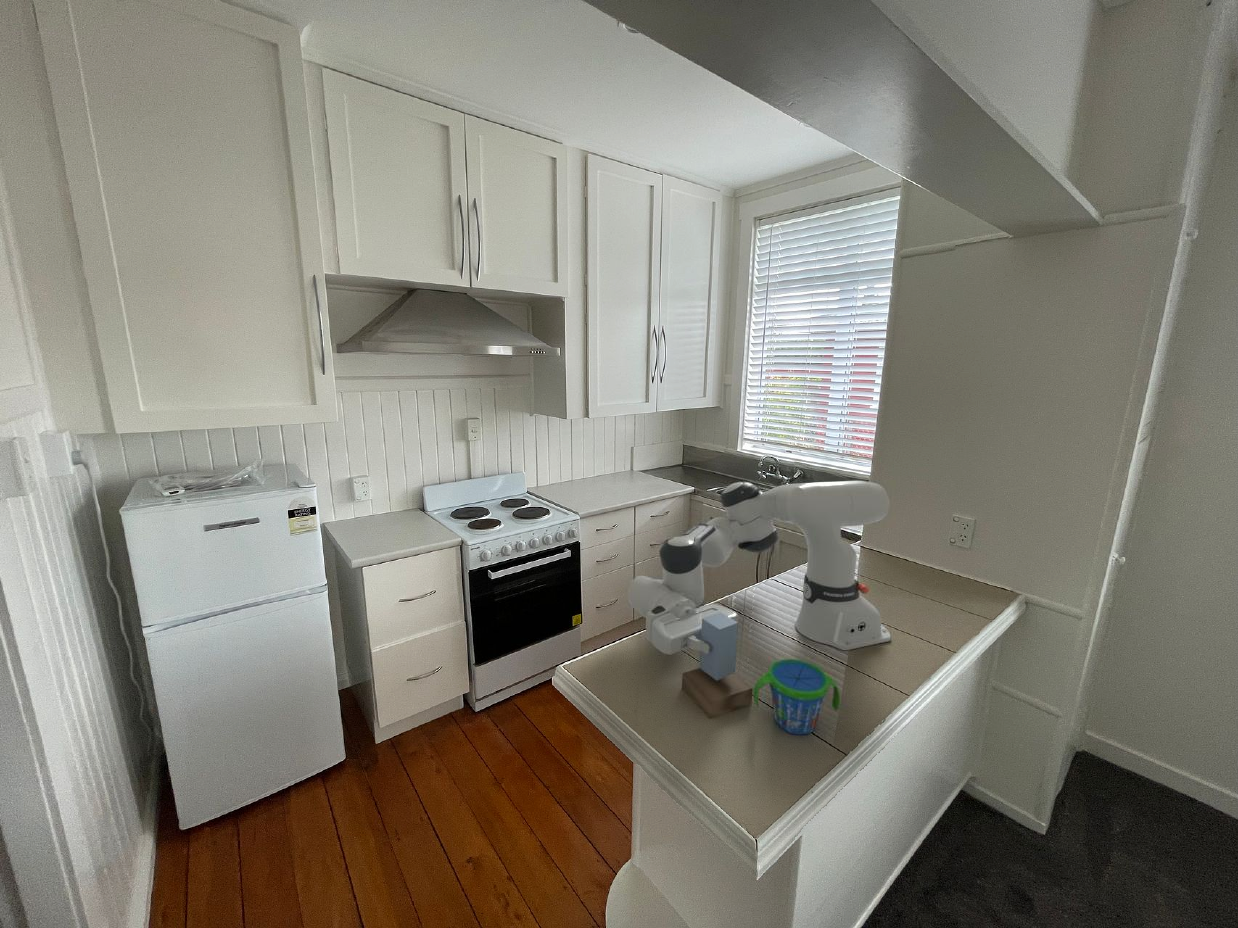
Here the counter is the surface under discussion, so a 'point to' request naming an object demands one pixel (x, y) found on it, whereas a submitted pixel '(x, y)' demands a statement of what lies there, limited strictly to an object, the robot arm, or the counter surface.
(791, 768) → the counter surface
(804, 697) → the snack cup
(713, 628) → the pillar
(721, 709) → the walnut base
